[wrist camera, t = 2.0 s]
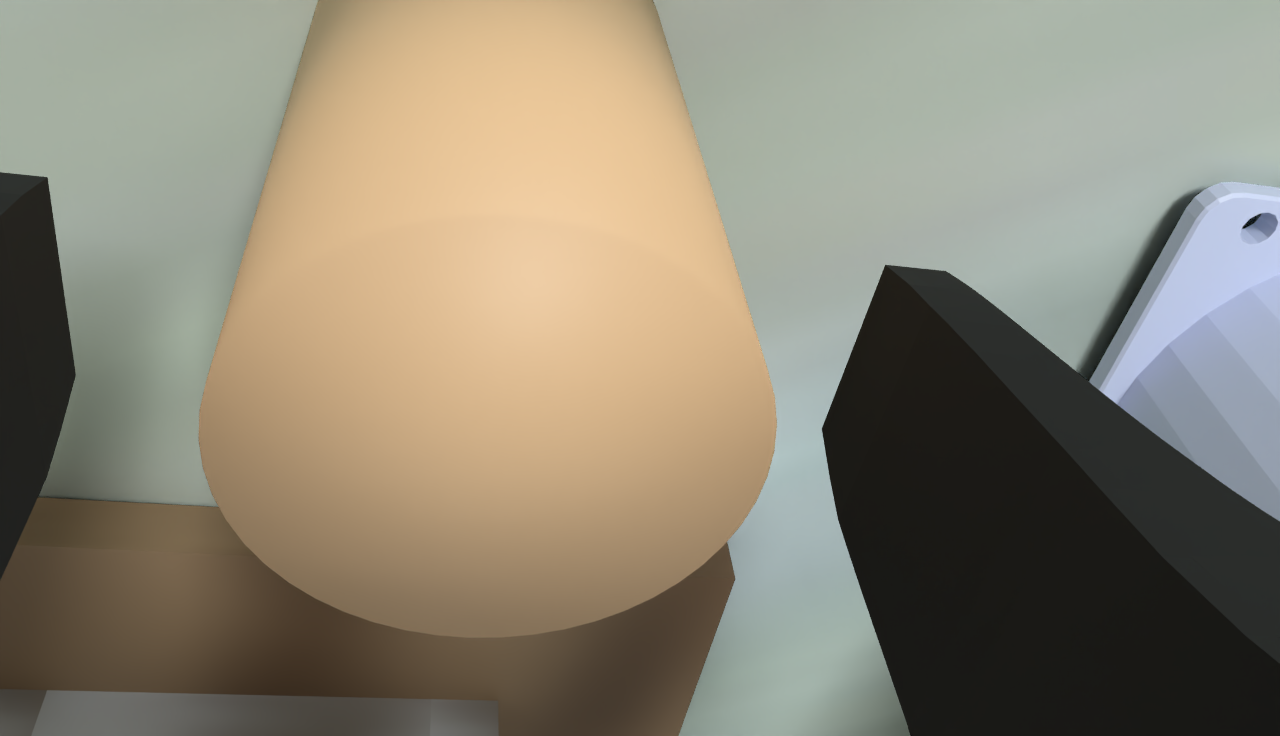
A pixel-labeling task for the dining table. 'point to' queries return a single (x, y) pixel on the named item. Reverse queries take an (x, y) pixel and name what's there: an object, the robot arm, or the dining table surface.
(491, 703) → the sleeve holder
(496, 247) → the tan rounded cone
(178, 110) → the dining table surface
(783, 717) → the dining table surface
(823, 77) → the dining table surface
